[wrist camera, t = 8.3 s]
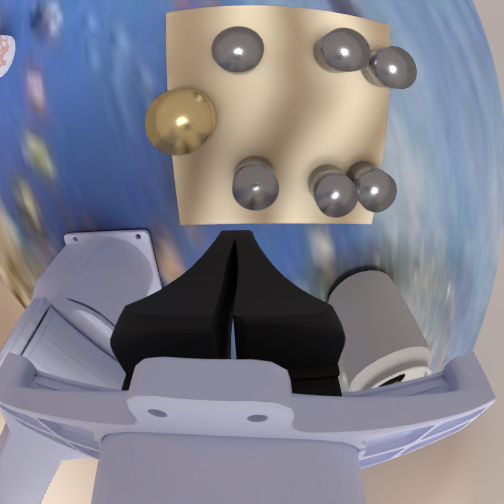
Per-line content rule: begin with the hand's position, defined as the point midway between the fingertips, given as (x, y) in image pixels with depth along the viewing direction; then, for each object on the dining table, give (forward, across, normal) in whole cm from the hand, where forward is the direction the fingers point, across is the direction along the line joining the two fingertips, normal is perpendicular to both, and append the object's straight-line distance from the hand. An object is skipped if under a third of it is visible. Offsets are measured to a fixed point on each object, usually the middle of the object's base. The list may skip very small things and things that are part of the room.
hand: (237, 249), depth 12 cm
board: (+10, -3, -5) cm, 11 cm away
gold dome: (+9, +4, -5) cm, 11 cm away
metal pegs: (+9, -5, -5) cm, 12 cm away
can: (+10, -12, +12) cm, 20 cm away
